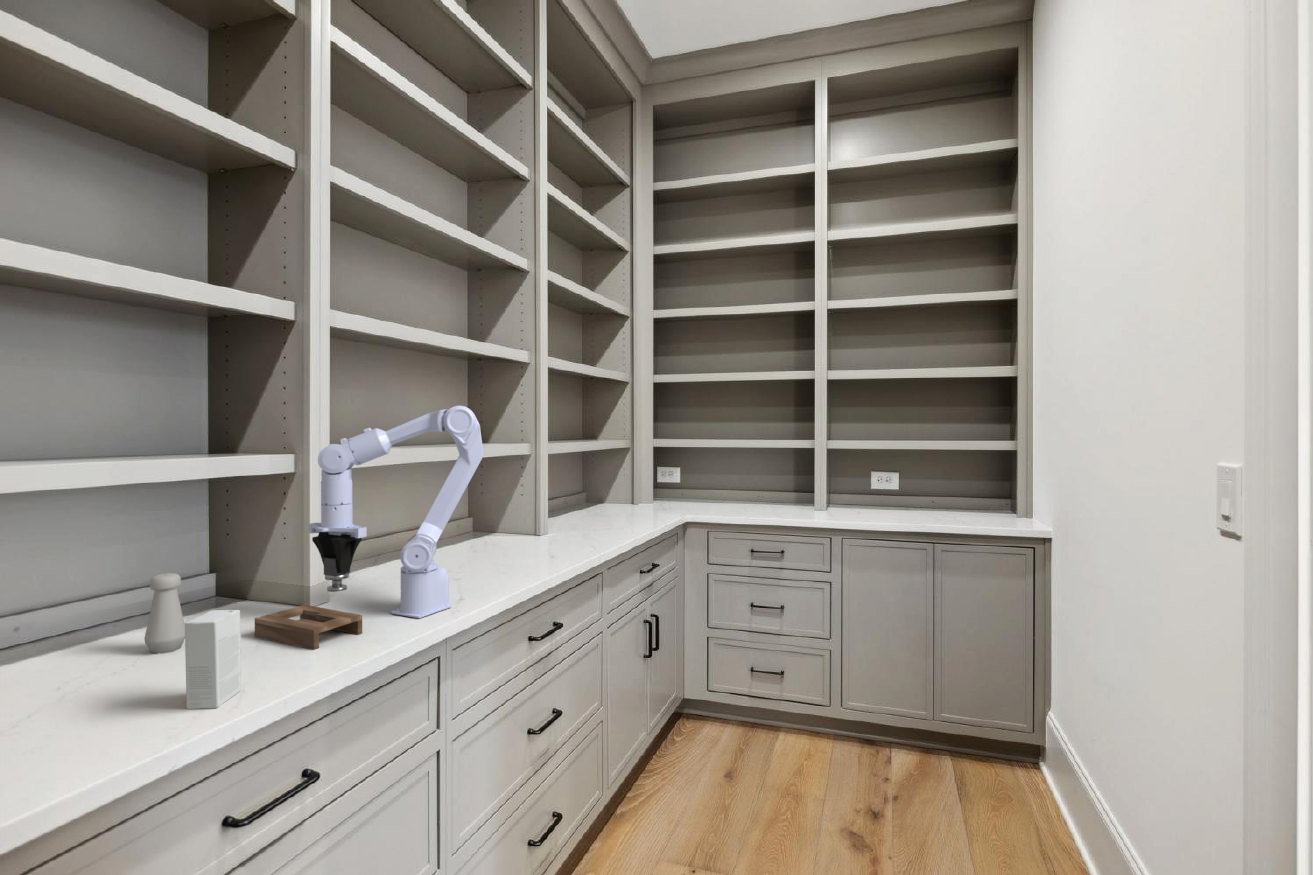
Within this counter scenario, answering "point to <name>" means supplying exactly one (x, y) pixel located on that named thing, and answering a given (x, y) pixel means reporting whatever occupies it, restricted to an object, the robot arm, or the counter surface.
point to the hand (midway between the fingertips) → (337, 570)
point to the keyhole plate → (305, 625)
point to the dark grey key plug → (334, 574)
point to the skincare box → (212, 658)
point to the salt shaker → (165, 615)
